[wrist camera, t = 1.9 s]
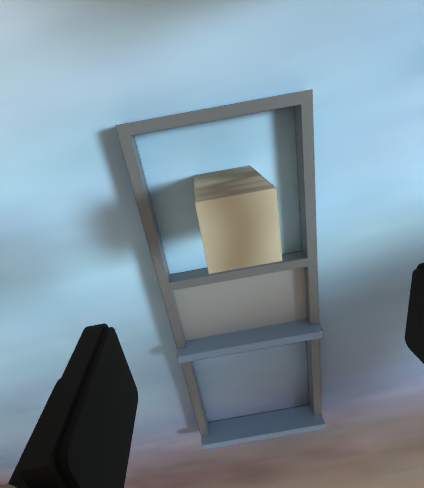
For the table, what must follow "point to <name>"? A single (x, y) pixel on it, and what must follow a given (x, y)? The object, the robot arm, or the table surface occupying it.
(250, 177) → the tan wooden block
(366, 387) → the table surface
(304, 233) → the grey flat frame
